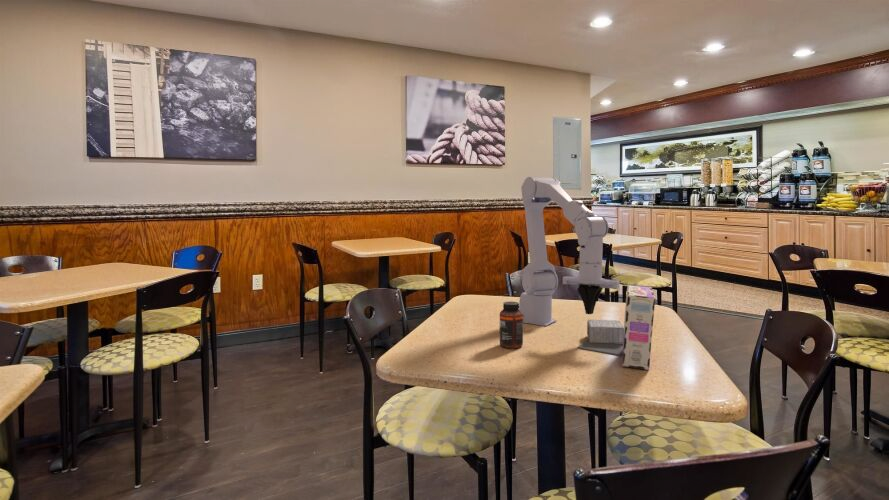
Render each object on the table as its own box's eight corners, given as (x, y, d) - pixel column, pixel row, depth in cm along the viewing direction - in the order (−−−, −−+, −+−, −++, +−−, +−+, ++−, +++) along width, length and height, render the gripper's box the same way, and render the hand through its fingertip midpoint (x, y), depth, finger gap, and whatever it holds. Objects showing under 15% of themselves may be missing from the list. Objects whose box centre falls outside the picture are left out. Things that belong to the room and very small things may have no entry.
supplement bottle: (524, 343, 129) (525, 301, 128) (520, 350, 123) (521, 305, 122) (502, 341, 131) (502, 299, 130) (497, 348, 125) (497, 304, 124)
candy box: (650, 371, 108) (655, 297, 106) (621, 367, 110) (626, 294, 108) (647, 352, 121) (652, 286, 119) (622, 348, 123) (626, 283, 121)
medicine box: (589, 342, 129) (624, 344, 127) (589, 326, 128) (625, 327, 126) (586, 334, 136) (619, 336, 135) (587, 318, 136) (620, 320, 134)
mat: (577, 348, 125) (577, 347, 125) (598, 334, 138) (598, 333, 138) (621, 356, 118) (621, 354, 118) (639, 340, 131) (639, 339, 131)
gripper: (558, 262, 130) (557, 312, 132) (613, 266, 122) (612, 320, 123) (568, 259, 136) (567, 307, 137) (622, 263, 127) (620, 314, 129)
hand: (589, 313), depth 131 cm, fingers closed
